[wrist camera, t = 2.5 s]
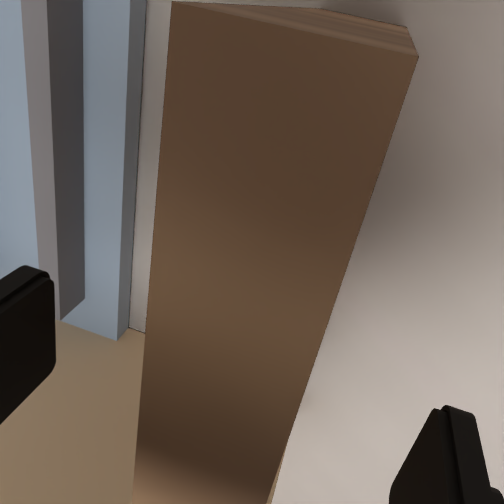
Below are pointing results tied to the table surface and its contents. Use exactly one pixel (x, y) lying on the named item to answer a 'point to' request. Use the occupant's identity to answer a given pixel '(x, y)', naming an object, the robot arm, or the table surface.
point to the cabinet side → (74, 240)
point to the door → (254, 231)
